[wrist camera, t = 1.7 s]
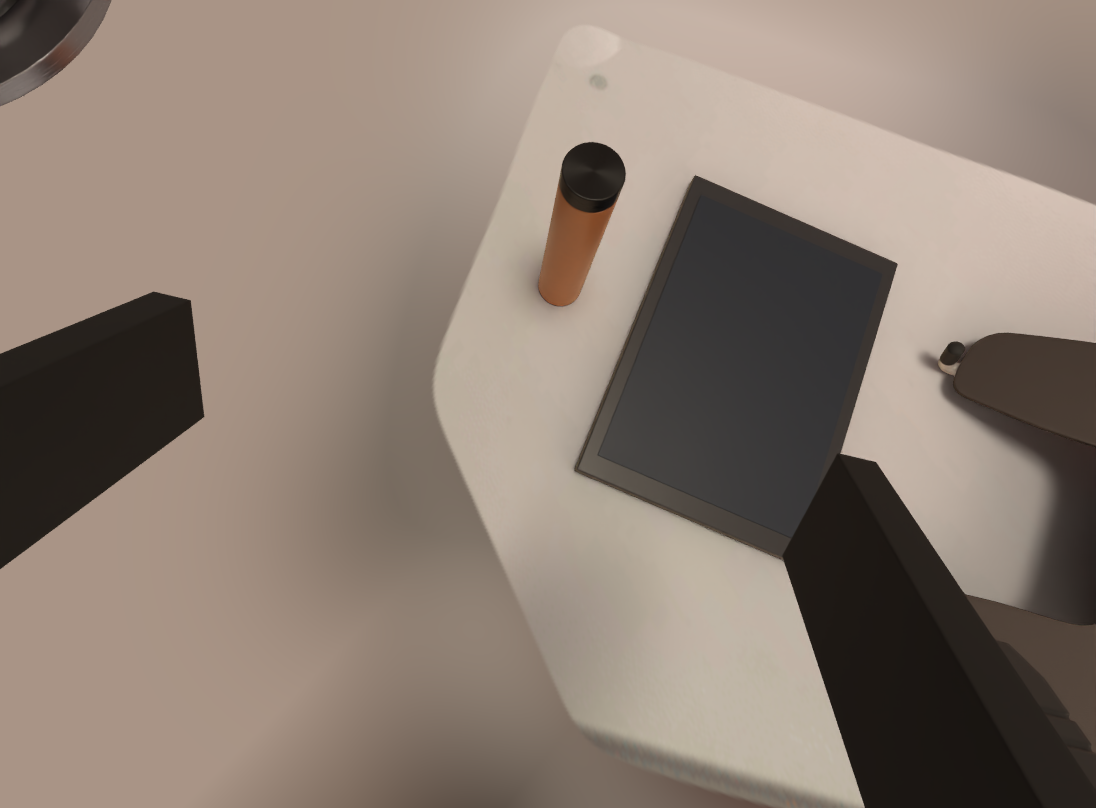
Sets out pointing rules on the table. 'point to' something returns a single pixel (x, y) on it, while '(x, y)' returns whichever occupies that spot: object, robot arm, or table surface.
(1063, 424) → the laptop tray
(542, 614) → the table surface
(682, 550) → the table surface
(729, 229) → the tablet
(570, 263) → the copper cylinder
